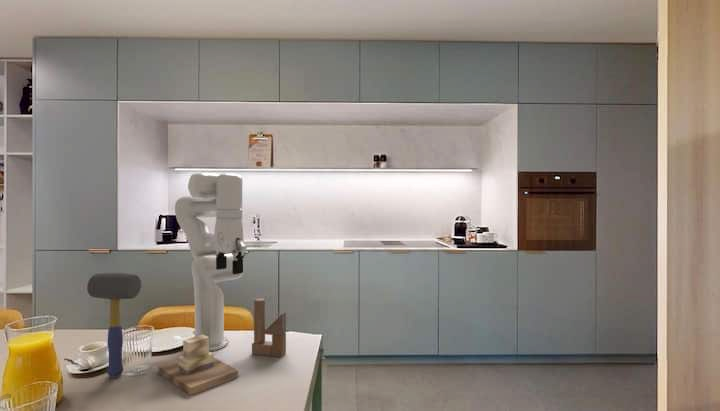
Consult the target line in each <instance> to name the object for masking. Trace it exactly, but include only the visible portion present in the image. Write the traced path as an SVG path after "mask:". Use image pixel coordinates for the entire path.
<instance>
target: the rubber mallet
mask: <svg viewBox="0 0 720 411" xmlns="http://www.w3.org/2000/svg"><path fill="white" fill-rule="evenodd" d="M141 288H142V280H141V278H140V276H139V275H137V274H135V273H134V274H133V273H126V272H125V273H123V272H107V273H106V272H105V273H102V272H101V273H95V274H93V275H92V276H91V277H90V279H89V280H88V282H87V286H86V289H87V293H88V295H89V296H91V298H95V299H104V300H109V326H108V327H109V328H108V330H107V331H108V332H107V349H108V350H107V351H108V365H107V366H108V367H107V369H106V370H107V375H108V376H109V378H118V377H120V376H122V374H123V372H124V365H123V354H122V353H123V345H124V339H123V338H124V337H123V328H122V325H121V300H132V299H134V298H136V297H137V296H138V295H139V293H140V292H141Z"/></svg>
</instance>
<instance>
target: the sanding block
mask: <svg viewBox="0 0 720 411" xmlns="http://www.w3.org/2000/svg"><path fill="white" fill-rule="evenodd" d="M182 346H183V349H182V353H183V354H182V356H179V357H178V360H179V370H180V371H181V372H183V373H184V374H186V375H188V374H191V373H194V372H197V371H200V370H203V369H206V368H209V367H212V366H213V357H214V353H213V352H211V351H209V337H207V336H205V335H200V336H196V337H195V336H193V337H190V338H186V339H185V338H184V339H182Z"/></svg>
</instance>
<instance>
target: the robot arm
mask: <svg viewBox="0 0 720 411" xmlns="http://www.w3.org/2000/svg"><path fill="white" fill-rule="evenodd" d="M187 189H188V192H189V194H190V195H186V196H183V197H180V198H178V199H177V200H176V201H175V204H174V214H175V217H176V221H177V223H178V225H179V227H180V229H181V230H182V231H183V232H184V234H185V236H186V239H187V244H188V247H189V250H190V253H191V256H192V257H193V258H194V259H193V261H192V262H191V274H192V280H193V289H194V292H193V293H194V331H193V332H192V334H193V336H194V337H196V336H200V335H205V336H207V337H209V352H211V351H212V352H213V351H217V350H220V349H222V348H225V347H227V346H228V344H229V338H228V337H227V336H225V330H224V329H225V327H224V326H225V318H224V317H225V315H224V314H225V310H224V309H225V308H224V307H225V305H224V302H225V300H224V299H225V296H224V292H223V290H222V288H221V287H219V286H218V285H217V283H219V282H226V281H233V280H238V279H240V278H242V276H243V275H244V274H245V271H246V270H245V269H246V268H245V262H244V260H245V256H246V251H247V245H246V244H245V243H244V227H243V177H242V175H240V174H236V173H192V174H191V175H190V177H189V180H188V183H187ZM199 218H200V219H199ZM201 218H215V224H214V225H215V226H214V230H213V231H214V233H212V232H211V230H210V227H209V225H207V223H205V222H204V221H203V220H201Z"/></svg>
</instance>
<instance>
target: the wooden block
mask: <svg viewBox="0 0 720 411" xmlns="http://www.w3.org/2000/svg"><path fill="white" fill-rule="evenodd" d="M266 335H271V341H268V340H266ZM286 339H287V311H284V312H283V313H281V314H280V315H279V316H278V317H277V318H276V319H275V320H274V321H273V322H272V323H271V324H270V325H269V326H268V327H267V328H266V299H265V298H262V297H261V298H255V299H254V300H253V343H251V355H256V356H267V357H273V358H275V357H277V358H283V357H284V356H285V355H286V354H287V340H286Z"/></svg>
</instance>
